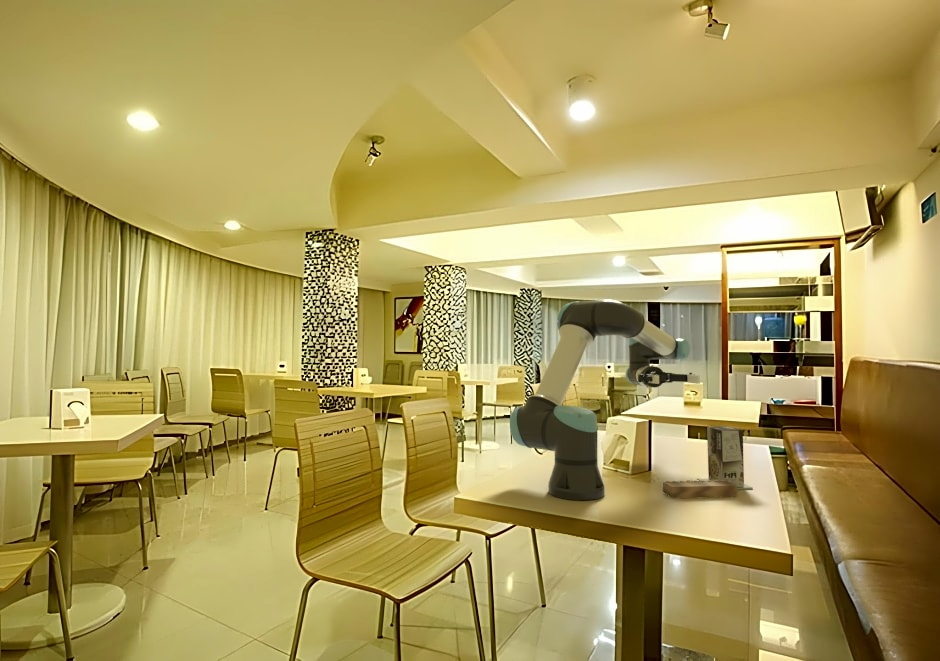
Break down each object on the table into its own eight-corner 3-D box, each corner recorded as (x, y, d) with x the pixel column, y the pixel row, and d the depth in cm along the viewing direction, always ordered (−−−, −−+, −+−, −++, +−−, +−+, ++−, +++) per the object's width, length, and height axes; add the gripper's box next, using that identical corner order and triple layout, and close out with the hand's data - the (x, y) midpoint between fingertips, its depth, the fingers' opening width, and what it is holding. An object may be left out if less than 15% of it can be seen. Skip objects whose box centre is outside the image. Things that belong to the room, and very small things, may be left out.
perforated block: (672, 498, 137) (672, 485, 138) (662, 492, 143) (662, 480, 143) (737, 496, 139) (736, 484, 139) (725, 491, 144) (725, 479, 144)
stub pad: (717, 490, 146) (717, 488, 146) (697, 480, 157) (697, 478, 157) (752, 489, 147) (752, 487, 147) (730, 479, 158) (730, 478, 158)
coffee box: (745, 487, 147) (744, 430, 147) (722, 487, 147) (721, 430, 147) (728, 479, 156) (727, 425, 156) (707, 479, 156) (706, 425, 156)
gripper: (683, 386, 190) (715, 390, 168) (617, 387, 188) (641, 391, 167) (683, 366, 190) (714, 367, 169) (616, 366, 188) (640, 368, 167)
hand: (678, 379), depth 168 cm, fingers open, 13 cm apart
